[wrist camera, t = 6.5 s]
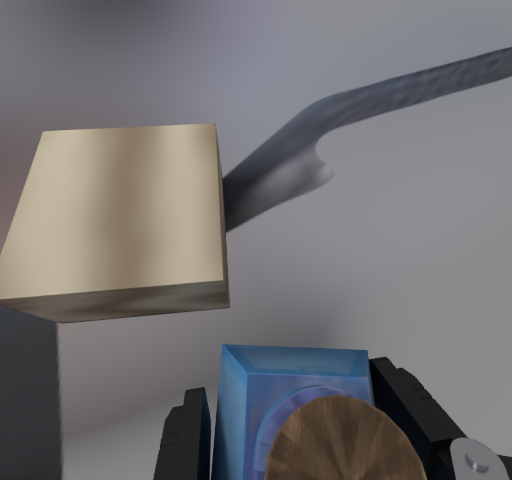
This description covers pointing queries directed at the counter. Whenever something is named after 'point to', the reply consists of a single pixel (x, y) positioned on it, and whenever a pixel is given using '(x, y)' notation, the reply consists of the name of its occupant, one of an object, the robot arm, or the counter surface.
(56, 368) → the counter surface
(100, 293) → the birch block
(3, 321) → the counter surface
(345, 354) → the perfume bottle
